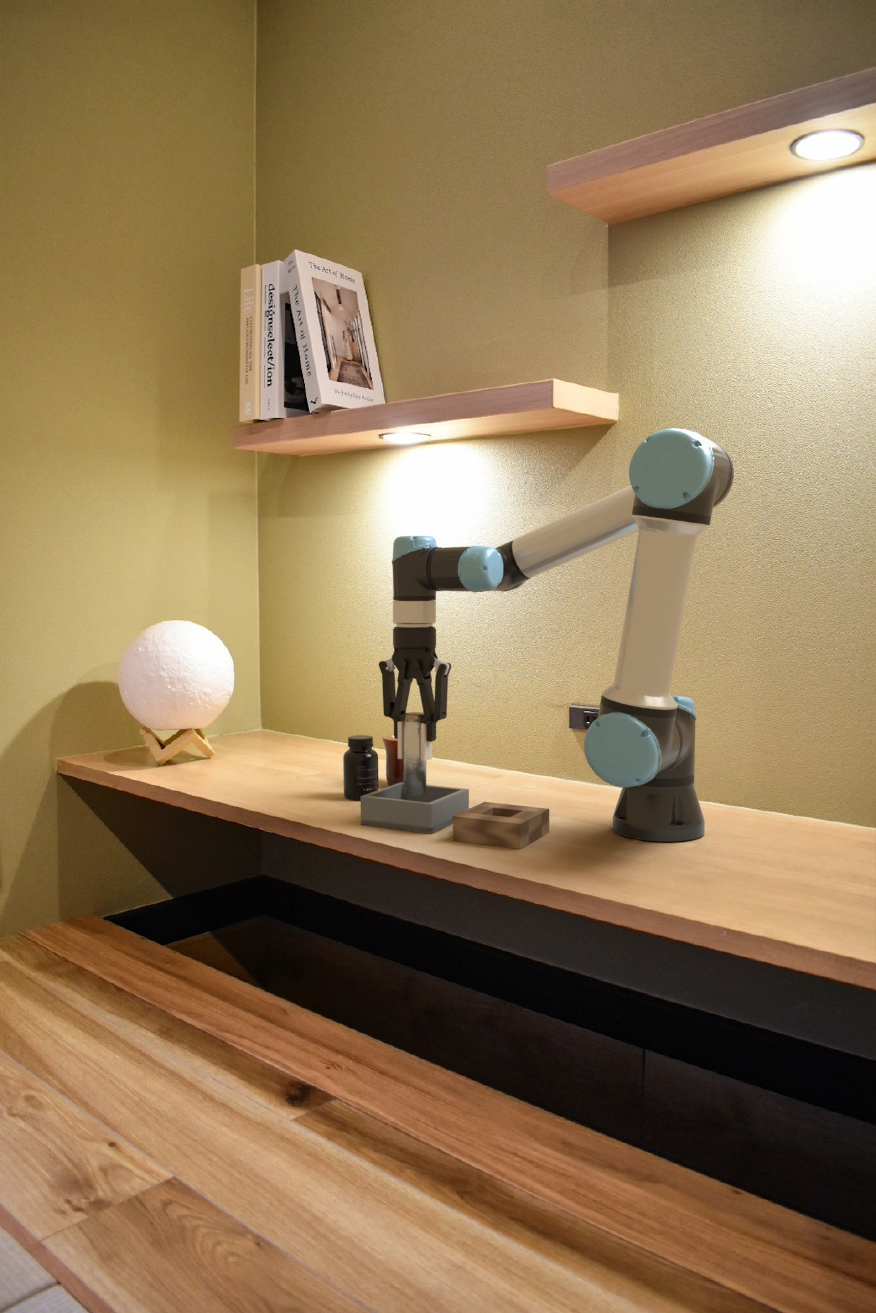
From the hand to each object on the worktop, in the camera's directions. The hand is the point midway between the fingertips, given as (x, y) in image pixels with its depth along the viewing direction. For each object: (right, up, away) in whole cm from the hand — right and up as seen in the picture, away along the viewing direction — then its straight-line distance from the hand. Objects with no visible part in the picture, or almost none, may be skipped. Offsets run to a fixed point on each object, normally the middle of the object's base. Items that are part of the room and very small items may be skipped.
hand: (415, 758), depth 178 cm
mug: (-4, -9, +32) cm, 34 cm away
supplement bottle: (-11, -10, +20) cm, 25 cm away
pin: (0, -6, 0) cm, 6 cm away
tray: (0, -11, +1) cm, 11 cm away
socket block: (+15, -12, -10) cm, 21 cm away
